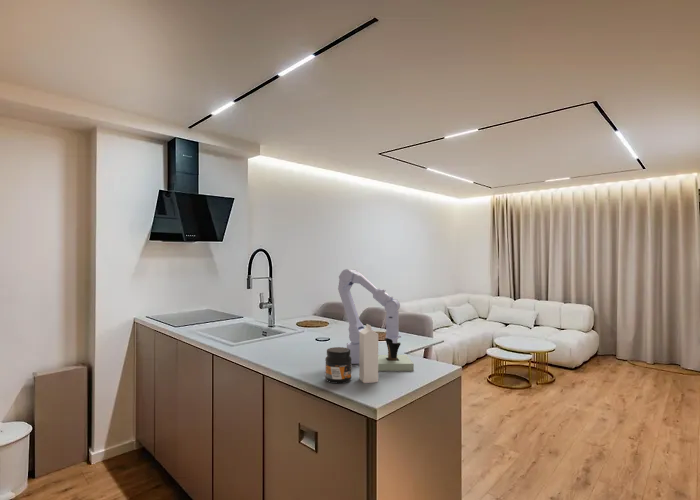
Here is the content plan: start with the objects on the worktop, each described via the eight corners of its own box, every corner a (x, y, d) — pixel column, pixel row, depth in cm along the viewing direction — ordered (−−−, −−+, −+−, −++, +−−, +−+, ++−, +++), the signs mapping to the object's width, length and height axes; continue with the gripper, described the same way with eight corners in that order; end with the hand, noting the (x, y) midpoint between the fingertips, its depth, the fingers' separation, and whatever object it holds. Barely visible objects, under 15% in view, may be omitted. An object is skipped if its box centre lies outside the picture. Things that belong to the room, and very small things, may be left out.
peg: (388, 367, 167) (388, 344, 167) (387, 364, 171) (387, 342, 171) (397, 366, 167) (397, 344, 167) (396, 364, 171) (396, 342, 171)
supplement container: (334, 386, 140) (334, 354, 141) (320, 379, 149) (320, 348, 149) (356, 381, 147) (357, 350, 147) (341, 374, 155) (341, 345, 156)
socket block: (377, 370, 161) (377, 363, 161) (372, 361, 176) (373, 354, 177) (413, 370, 161) (413, 363, 161) (406, 361, 177) (406, 354, 177)
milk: (363, 383, 144) (363, 326, 144) (359, 378, 149) (359, 323, 150) (378, 382, 145) (378, 325, 146) (373, 377, 151) (373, 323, 152)
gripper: (404, 328, 163) (404, 359, 162) (398, 323, 177) (398, 352, 177) (388, 328, 162) (388, 360, 162) (383, 323, 177) (383, 352, 176)
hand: (392, 355), depth 169 cm, fingers open, 7 cm apart
